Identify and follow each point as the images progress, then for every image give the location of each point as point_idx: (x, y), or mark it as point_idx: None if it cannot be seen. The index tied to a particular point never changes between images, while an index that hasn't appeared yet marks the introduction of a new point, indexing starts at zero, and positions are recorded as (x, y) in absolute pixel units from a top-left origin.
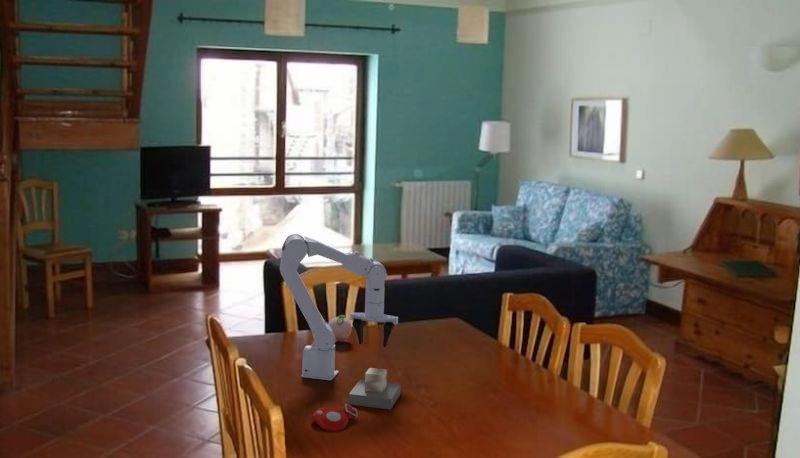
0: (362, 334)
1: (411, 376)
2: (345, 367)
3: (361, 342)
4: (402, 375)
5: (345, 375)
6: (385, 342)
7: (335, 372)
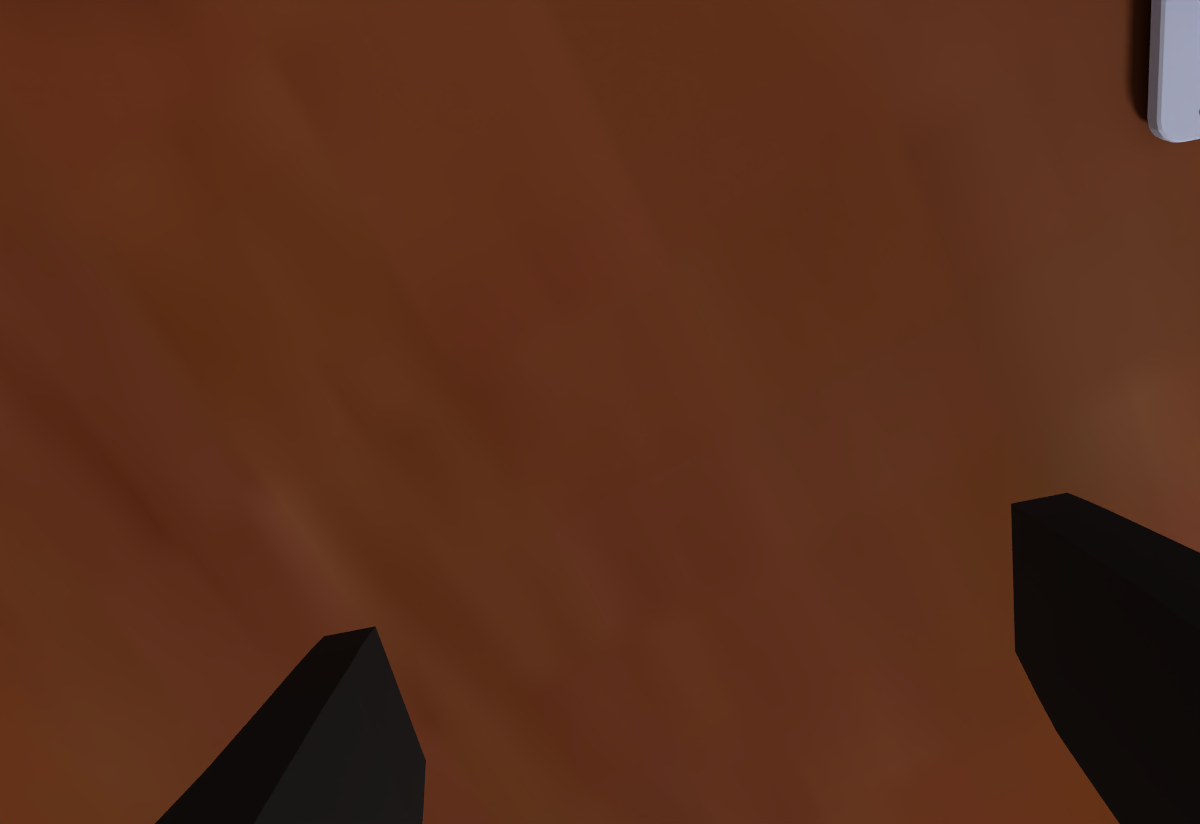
0: (1159, 808)
1: (120, 540)
2: (1106, 402)
3: (1033, 551)
4: (244, 514)
5: (998, 80)
6: (268, 706)
7: (1193, 35)
